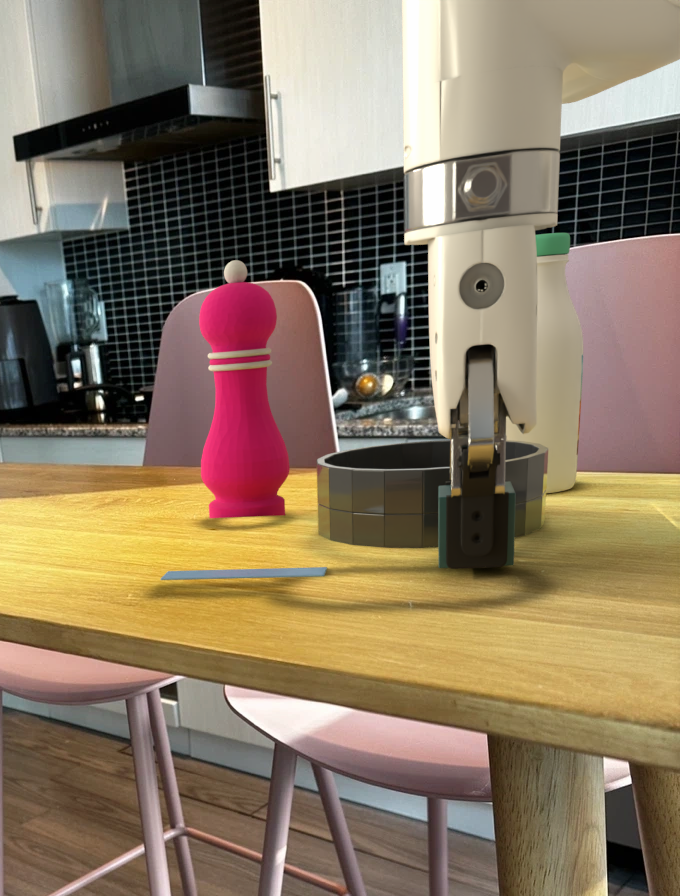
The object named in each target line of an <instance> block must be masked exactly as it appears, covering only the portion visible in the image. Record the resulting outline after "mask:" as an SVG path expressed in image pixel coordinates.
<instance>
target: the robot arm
mask: <svg viewBox="0 0 680 896" xmlns="http://www.w3.org/2000/svg"><path fill="white" fill-rule="evenodd" d="M401 15H402V16H401V25H402V26H401V29H402V31H401V35H402V37H401V38H402V39H401V40H402V44H401V45H402V48H401V49H402V126H403V127H402V129H403V130H402V131H403V132H402V133H403V135H402V137H403V138H402V139H403V174H404V175H403V232H404V234H403V236H404V237H403V238H404V239H403V241H404V243H403V244H404V246H410V245H412V246H419V245H420V246H421V245H422V246H423V245H427V253H428V254H427V263H428V264H427V272H428V273H427V274H428V276H427V277H428V280H427V281H428V282H427V283H428V284H427V285H428V289H427V291H428V337H429V338H428V339H429V358H430V360H429V361H430V376H431V386H432V395H433V396H432V397H433V403H434V410H435V416H436V422H437V428H438V429H437V430H438V434H440V435H441V436H443V437H445V438H446V439H447V440H450V480H451V481H446V485H451V495H446V564H447V566H448V567H449V568H448V569H451V570H459V569H460V570H461V569H462V570H463V569H488V568H502V567H505V566H504V565H505V564H506V562H507V547H508V507H509V492H505V466H506V440H507V436H506V417H509V419H510V420H511V422H512V424H516V425H517V427H518V428H519V430H520V431H521V433H522V434H525V433H529V432H530V431H531V430H532V429H533V428H534V427H535V426H536V370H537V305H538V283H537V250H536V236H535V235H536V231H541V230H546V229H548V228H554V227H556V226H558V216H559V215H558V211H559V185H560V162H561V161H560V159H561V153H560V151H561V134H562V107H563V106H562V105H564V104H566V105H567V104H573V103H576V102H579V101H582V100H585V99H587V98H590V97H593V96H595V95H597V94H599V93H602V92H605V91H607V90H609V89H611V88H614V87H615V86H618V85H621V84H623V83H626V82H627V81H628V82H629V81H631V80H634V79H637V78H639V77H643V76H645V75H647V74H650V73H652V72H654V71H656V70H658V69H659V70H660V69H661V68H663V67H666V66H668V65H670V64H673V63H675V62H677V61H680V0H401ZM461 489H462V494H461Z"/></svg>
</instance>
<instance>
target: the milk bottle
mask: <svg viewBox="0 0 680 896" xmlns="http://www.w3.org/2000/svg"><path fill="white" fill-rule="evenodd" d="M535 236H536V250H537V283H538V305H537V370H536V426H535V427H534V428H533V429H532V430H531V431H530V432H529V433H525V434H522V433H521V431H520V430H519V428H518V427H517V425H516V424H512V422H511V420H510V419H509V417H506V436H507V440H512V441H525V442H531V443H538V444H541V445H543V446H545V447H547V448H548V449H549V450H548V469H547V487H546V494H552V493H559V492H564V491H567V490H570V489H572V488H573V487H575V486H574V485H575V484H576V481H577V471H578V458H579V444H580V443H579V442H580V427H581V413H582V396H583V395H582V394H583V393H582V392H583V378H584V377H583V376H584V375H583V374H584V335H583V330H582V325H581V322H580V318H579V316H578V312H577V310H576V308H575V305H574V302H573V299H572V298H571V295H570V290H569V287H568V284H567V277H566V266H567V263H569V261H570V259H569V254H570V249H571V236H570V233H568V232H553V233H552V232H551V233H541V234H540V233H539V234H535Z"/></svg>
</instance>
